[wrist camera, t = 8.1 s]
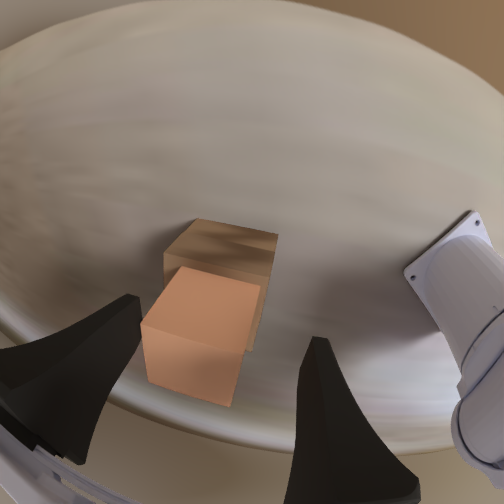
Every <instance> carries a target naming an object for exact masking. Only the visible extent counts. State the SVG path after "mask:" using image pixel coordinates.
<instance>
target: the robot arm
mask: <svg viewBox="0 0 504 504" xmlns="http://www.w3.org/2000/svg"><path fill="white" fill-rule="evenodd" d="M476 220H477V223H476V224H475V222H476ZM403 274H404V276H405V278H406V279H407V281H408V282H409V283H410V285H411V286H412V288H413V289H414V291H415V292H416V293H417V295H418V296H419V298H420V299H421V301H422V302H423V304H424V305H425V307H426V308H427V310H428V311H429V313H430V314H431V316H432V317H433V319H434V320H435V322H436V324H437V325H438V327H439V328H440V330H441V332H442V333H443V334H444V336H445V338H446V340H447V342H448V344H449V346H450V349H451V351H452V353H453V356H454V358H455V360H456V363H457V365H458V367H459V370H460V372H461V375H462V378H461V380H460V382H459V383H458V385H457V389H458V392H459V395H460V398H461V400H460V401H459V402H458V404H457V405H456V407H455V409H454V411H453V414H452V418H451V433H452V438H453V441H454V444H455V447H456V449H457V451H458V453H459V454H460V456H461V457H462V458H463V459H464V461H465V462H467V463H468V464H469V465H470V466H472V467H474V468H476V469H478V470H480V471H482V472H483V473H484V474H485V475H487V476H488V478H489V479H490V481H491V482H492V484H493V486H494V487H495V488H497V489H504V259H503V258H502V257H501V256H500V255H499V254H498V253H497V252H496V251H495V250H494V249H493V246H492V244H491V241H490V239H489V236H488V234H487V231H486V229H485V226H484V224H483V222H482V219H481V217H480V215H479V213H478V212H477V211H475V210H473V211H471V212H470V213H469V214H468V215H467V216H466V217H465V218H464V219H463V220H462V221H460V222H459V223H458V224H457V225H456V226H455V227H454V228H453V229H452V230H451V231H449V232H448V233H447V234H446V235H445V236H444V237H443V238H441V239H440V240H439V241H438V242H437V243H436V244H434V245H433V246H432V247H431V248H430V249H429V250H427V251H426V252H425V253H424V254H422V255H421V256H420V257H419V258H418V259H416V260H415V261H414V262H413V263H411V264H410V265H409V266H408V267H406V268H405V269H404V272H403ZM413 275H415V276H414V277H413V278H411V276H413ZM141 322H142V313H141V306H140V299H139V297H137V296H134V295H130V294H126V295H124V296H122V297H120V298H118V299H117V300H115V301H113V302H112V303H110V304H108V305H107V306H105V307H103V308H102V309H100V310H98V311H97V312H95V313H93V314H91V315H90V316H88V317H86V318H84V319H83V320H81V321H79V322H77V323H75V324H73V325H71V326H70V327H68V328H66V329H63V330H61V331H59V332H57V333H54V334H52V335H50V336H47V337H45V338H42V339H39V340H36V341H33V342H30V343H26V344H23V345H19V346H14V347H11V348H4V349H0V485H1V486H2V487H3V489H4V490H5V491H6V492H7V493H8V494H9V495H10V496H11V497H12V498H13V499H14V501H15V502H17V504H96V503H95V502H93V501H91V500H90V499H88V498H86V497H85V496H83V495H81V494H80V493H78V492H76V491H74V490H72V489H71V488H69V487H67V486H66V485H64V484H63V483H62V482H61V478H60V476H61V477H62V478H64V479H65V480H67V481H68V482H70V483H72V484H73V485H75V486H77V487H78V488H80V489H82V490H83V491H85V492H87V493H89V494H90V495H92V496H94V497H96V498H98V499H100V500H102V501H103V502H105V503H107V504H143V503H140V502H137V501H135V500H133V499H130V498H128V497H126V496H124V495H121V494H119V493H117V492H115V491H113V490H111V489H109V488H107V487H105V486H103V485H101V484H99V483H97V482H95V481H93V480H92V479H90V478H88V477H86V476H84V475H82V474H81V473H79V472H78V471H76V470H74V469H73V468H71V467H69V466H68V465H66V464H65V463H63V462H62V461H60V460H58V459H57V458H55V455H58V456H59V457H61V458H64V457H65V458H67V459H69V460H70V461H72V462H73V463H75V464H77V465H83V464H85V462H86V457H87V453H88V449H89V445H90V441H91V439H92V436H93V432H94V429H95V426H96V424H97V421H98V418H99V416H100V413H101V411H102V408H103V406H104V404H105V402H106V400H107V397H108V395H109V393H110V391H111V390H112V388H113V386H114V384H115V383H116V381H117V380H118V378H119V376H120V375H121V373H122V372H123V370H124V368H125V367H126V365H127V364H128V362H129V361H130V359H131V357H132V356H133V354H134V353H135V351H136V349H137V347H138V345H139V343H140V340H141V338H142V334H141V325H140V323H141ZM420 501H421V495H420V484H419V478H418V477H416V476H415V475H414V474H413V473H412V472H411V471H410V470H409V469H408V468H406V467H405V466H404V465H403V464H402V463H401V462H400V461H399V460H398V459H397V458H396V457H395V456H394V455H393V453H392V452H391V451H390V450H389V449H388V448H387V446H386V445H385V444H384V443H383V441H382V440H381V439H380V438H379V436H378V435H377V434H376V432H375V431H374V430H373V428H372V427H371V425H370V424H369V422H368V421H367V419H366V418H365V416H364V415H363V413H362V411H361V410H360V408H359V406H358V404H357V403H356V401H355V399H354V397H353V395H352V393H351V391H350V389H349V387H348V385H347V383H346V381H345V379H344V376H343V374H342V372H341V370H340V367H339V365H338V363H337V360H336V358H335V355H334V353H333V350H332V347H331V345H330V342H329V340H328V339H327V338H321V337H314V336H312V339H311V342H310V344H309V347H308V349H307V352H306V354H305V357H304V359H303V362H302V364H301V367H300V371H299V378H298V386H297V411H296V440H295V449H294V455H293V461H292V467H291V472H290V477H289V482H288V487H287V491H286V495H285V499H284V504H418V503H419V502H420Z"/></svg>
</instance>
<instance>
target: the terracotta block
mask: <svg viewBox="0 0 504 504" xmlns="http://www.w3.org/2000/svg"><path fill="white" fill-rule="evenodd" d="M260 287H261V286H259V285H255V284H250V283H246V282H242V281H238V280H234V279H230V278H226V277H222V276H218V275H214V274H210V273H206V272H203V271H199V270H195V269H191V268H187V267H184V266H181V267H180V269H179V270H178V272H177V273H176V274H175V276H174V277H173V278H172V280H171V281H170V282H169V284H168V285H167V287H166V288H165V289H164V291H163V292H162V294H161V295H160V296H159V298H158V299H157V301H156V302H155V303H154V305H153V306H152V308H151V309H150V310H149V312H148V313H147V315H146V316H145V318H144V319H143V320H142V322H141V323H140V325H141V334H142V342H143V350H144V357H145V363H146V370H147V376H148V382H150V383H153V384H156V385H158V386H161V387H164V388H167V389H170V390H173V391H176V392H179V393H182V394H185V395H188V396H191V397H195V398H198V399H202V400H205V401H209V402H212V403H216V404H220V405H223V406H227V407H230V405H231V402H232V398H233V394H234V390H235V387H236V383H237V379H238V375H239V371H240V368H241V364H242V360H243V356H244V352H245V348H246V344H247V340H248V336H249V332H250V328H251V324H252V320H253V316H254V312H255V308H256V304H257V300H258V295H259V291H260Z"/></svg>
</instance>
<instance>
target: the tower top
mask: <svg viewBox="0 0 504 504" xmlns="http://www.w3.org/2000/svg"><path fill="white" fill-rule="evenodd" d="M274 255H275V252H274V251H269V250H265V249H260V248H256V247H251V246H247V245H242V244H238V243H233V242H229V241H224V240H220V239H215V238H211V237H206V236H201V235H197V234H192V233H188V232H182V233H181V234H180V236H179V237H178V238H177V239H176V240H175V241H174V242H173V243H172V244H171V245H170V246H169V247H168V248H167V249H166V251H165V252H164V289H165V288H166V287H167V285H168V284H169V282H170V281H171V280H172V278H173V277H174V276H175V274H176V273H177V272H178V270H179V269H180V267H181V266H184V267H187V268H191V269H195V270H199V271H203V272H206V273H210V274H214V275H218V276H222V277H226V278H230V279H234V280H238V281H242V282H246V283H250V284H255V285H259V286H261V287H260V291H259V295H258V300H257V304H256V308H255V312H254V316H253V320H252V324H251V328H250V332H249V336H248V340H247V344H246V348H245V351H248V352H252V348H253V344H254V341H255V337H256V333H257V329H258V325H259V320H260V316H261V312H262V308H263V304H264V300H265V296H266V292H267V288H268V283H269V279H270V275H271V270H272V265H273V260H274Z"/></svg>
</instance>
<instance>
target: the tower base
mask: <svg viewBox="0 0 504 504" xmlns="http://www.w3.org/2000/svg"><path fill="white" fill-rule="evenodd" d="M185 232H188V233H192V234H197V235H201V236H206V237H211V238H215V239H220V240H224V241H229V242H233V243H238V244H242V245H247V246H251V247H256V248H260V249H265V250H269V251H274V252H275V249H276V244H277V239H278V234H275V233H270V232H265V231H260V230H255V229H250V228H245V227H240V226H235V225H230V224H225V223H220V222H215V221H209V220H204V219H199V218H197V219H196V220H195V221H194V222H193V223H192V224H191V225H190V226H189V227H188V228H187V230H186V231H185ZM264 301H265V300H264ZM263 305H264V304H263ZM262 310H263V308H262ZM261 314H262V312H261ZM260 318H261V316H260ZM259 323H260V320H259Z"/></svg>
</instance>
